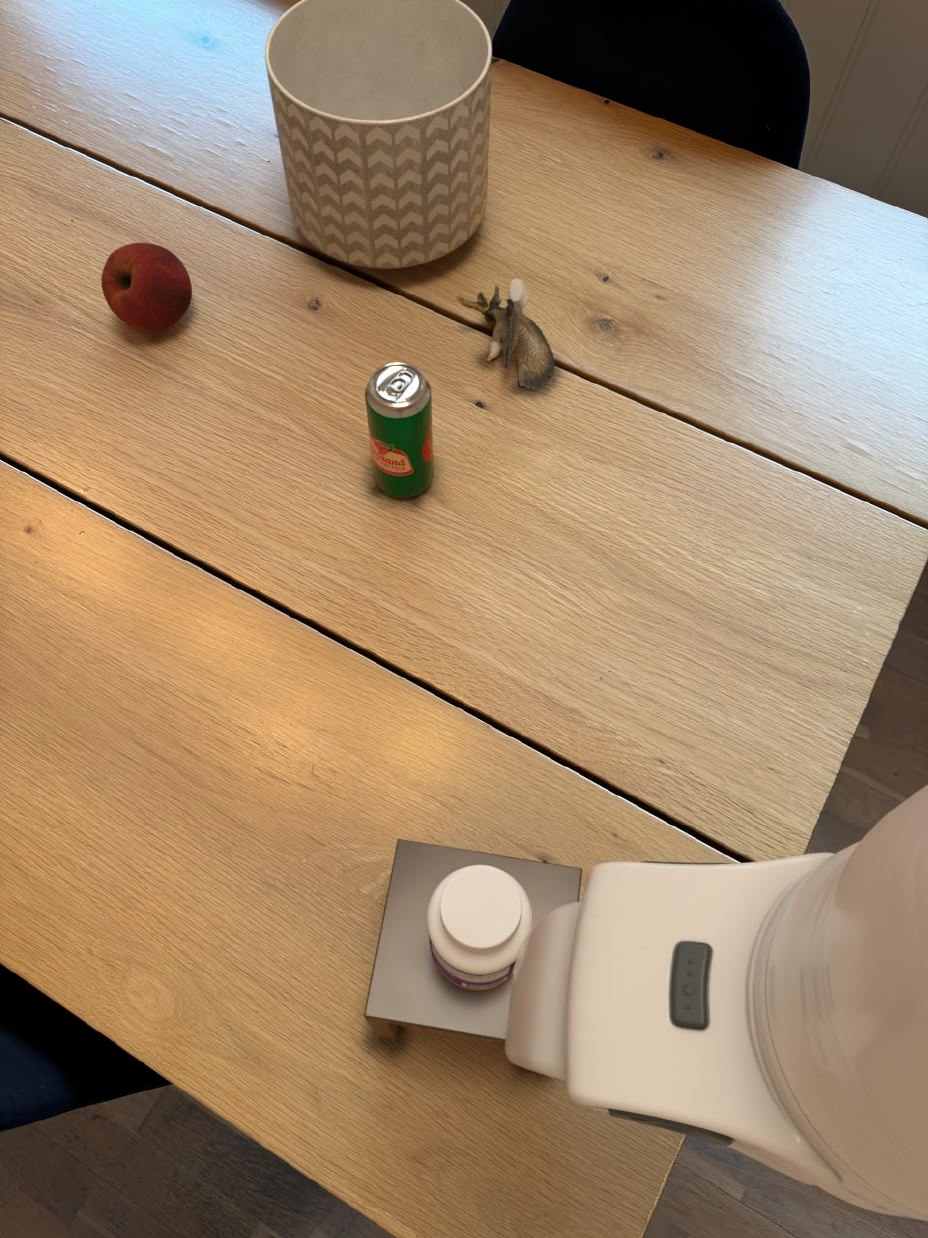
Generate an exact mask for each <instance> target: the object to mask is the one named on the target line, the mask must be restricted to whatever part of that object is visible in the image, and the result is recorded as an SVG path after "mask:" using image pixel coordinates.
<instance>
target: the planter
mask: <svg viewBox="0 0 928 1238" xmlns="http://www.w3.org/2000/svg"><path fill="white" fill-rule="evenodd" d="M264 62H265V69H266V74H267V80H268V84H269V91H270V97H271V103H272V109H273V115H274V120H275V125H276V126H275V127H276V133H277V138H278V145H279V149H280V155H281V160H282V161H281V162H282V166H283V167H282V168H283V172H284V178H285V179H284V180H285V185H286V189H287V195H288V201H289V202H288V203H289V208H290V212H291V215H292V219H293V221H294V223H295V226H296V227H297V229H298V231H299V232H300V233H301V234H302V236H303V237H304V238H305V239H306V240H307V241H308V242H309V243H310V244H311V245H312V246H314V247H315V248H316V249H318V250H319V251H321V252H322V253H324V254H326V255H327V256H329V257H331V258H334V259H336V260H338V261H340V262H344V263H346V264H349V265H353V266H358V267H363V268H370V269H382V270H383V269H384V270H385V269H389V270H390V269H403V268H409V267H414V266H419V265H423V264H427V263H430V262H432V261H435V260H437V259H440V258H443V257H444V256H446V255H448V254H450V253H452V252H454V251H455V250H457V249H458V248H460V247H461V246H462V245H463V244H465V242H467V241H468V240H469V239H470V238H471V237H472V236H473V234H474V233H475V232H476V231H477V229H478V227H479V226H480V224H481V222H482V220H483V219H484V216H485V212H486V208H487V205H488V181H489V180H488V179H489V178H488V177H489V152H490V151H489V149H490V127H491V126H490V125H491V123H490V121H491V95H492V94H491V93H492V70H493V69H492V66H493V45H492V40H491V36H490V32H489V30H488V28H487V27H486V24H484V22H483V20H482V19H481V18H480V16H479V15H478V14H477V13H476V12H475V11H474V10H473V9H472V8H470V7H469V6H468V5H467V4H465V3H464V2H463V1H461V0H300V1H298V2H297V3H295V4H294V5H292V6H291V7H290V8H289V9H287V10H286V11H285V12H284V13H283V14H282V15H281V16H280V17H279V18H278V19H277V20H276V22H275V23H274V25H273V26H272V28H271V29H270V31H269V33H268V35H267V39H266V41H265V47H264Z"/></svg>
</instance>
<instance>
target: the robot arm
mask: <svg viewBox="0 0 928 1238" xmlns="http://www.w3.org/2000/svg"><path fill="white" fill-rule="evenodd" d="M504 1052H505V1056H506V1057H507V1060H509V1061H510V1063H512V1064H514V1065H515V1066H518V1067H520V1068H523V1069H526V1070H528V1071H532V1072H533V1073H534V1072H535V1073H537V1074H540V1075H543V1076H546V1077H549V1078H552V1079H556V1080H559V1081H562V1082H564V1089H565V1090H564V1093H565V1096H566V1097H567V1099H568V1100H569V1101H570V1102H572V1103H573V1104H575V1105H576V1106H578V1107H580V1108H583V1109H588V1110H593V1111H594V1110H595V1111H599V1112H604V1113H608V1114H609V1117H612V1118H617V1119H621V1120H625V1121H631V1122H635V1123H639V1124H643V1125H647V1126H650V1127H651V1126H652V1127H655V1128H659V1129H663V1130H667V1131H671V1132H675V1133H678V1134H680V1135H681V1134H682V1135H685V1136H688V1137H690V1138H694V1139H697V1140H700V1141H702V1142H705V1143H707V1144H708V1143H709V1144H713V1145H718V1146H725V1147H728V1148H730V1149H732V1150H735V1151H736V1152H739V1153H740V1154H743V1155H744V1156H748V1157H749V1158H752V1159H753V1160H755V1161H758V1162H759V1163H761V1164H763V1165H765V1166H766V1167H769V1168H770V1169H773V1170H774V1171H777V1172H779V1173H781V1174H783V1175H785V1176H787V1177H789V1178H791V1179H793V1180H796V1181H797V1182H800V1183H802V1184H805V1185H809V1186H816V1187H818V1188H820V1189H822V1190H823V1191H825V1192H826V1193H828V1194H830V1195H832V1196H833V1197H835V1198H838V1199H840V1201H841V1200H842V1201H843V1202H845V1203H848V1204H851V1205H854V1206H855V1207H858V1208H861V1209H863V1210H866V1211H870V1212H875V1213H879V1214H882V1215H889V1216H895V1217H901V1218H906V1219H907V1218H908V1219H912V1220H919V1221H924V1222H925V1221H926V1222H928V783H927V784H926V785H924V786H923V787H922V788H921V789H919V790H918V791H916V792H915V793H913V794H912V795H910V796H909V797H908V798H907V799H905V800H904V801H902V802H901V803H900V804H898V805H897V806H896V807H894V808H893V809H891V810H890V811H889V812H887V813H886V814H885V815H884V816H883V817H882V818H880V819H879V820H878V821H877V823H876V824H875V825H874V826H873V827H872V828H871V829H870V830H869V831H868V832H867V833H866V834H865V835H864V836H863V838H861V840H859V841H857V842H855V843H853V844H851V845H848V846H847V847H845V848H843V849H841V850H839V851H838V852H836V853H834V852H828V851H827V852H826V851H825V852H814V853H813V852H812V853H805V854H804V853H803V854H797V855H792V856H791V855H790V856H787V857H786V856H785V857H781V858H774V859H766V860H761V861H760V860H759V861H750V862H738V863H736V862H735V863H731V862H730V863H729V862H728V863H727V862H684V861H682V862H681V861H659V860H657V861H655V860H654V861H653V860H645V861H630V860H629V861H628V860H611V861H606V862H605V861H604V862H600V863H598V864H596V865H594V866H592V867H591V868H590V869H589V870H588V872H587V876H586V879H585V883H584V888H583V892H582V897H581V900H579V902H574V903H570V904H566V905H563V906H560V907H558V908H556V909H554V910H552V911H551V912H549V913H548V914H546V915H545V916H544V917H543V918H542V919H541V920H540V921H539V922H538V923H537V924H536V925H535V926H534V927H533V928H532V930H531V931H530V932H529V933H528V935H527V936H526V937H525V939H524V941H523V942H522V944H521V946H520V948H519V951H518V954H517V959H516V964H515V970H514V976H513V983H512V989H511V996H510V1003H509V1012H508V1021H507V1030H506V1040H505V1043H504Z"/></svg>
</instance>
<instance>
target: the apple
mask: <svg viewBox="0 0 928 1238" xmlns="http://www.w3.org/2000/svg"><path fill="white" fill-rule="evenodd" d="M101 289H102V293H103V297H104V298H105V301H106V303H107V305H108V307H109V308H110V310H111V311H112V312H113V314H114V315H115V316H116V318H118V319H119V320H120V321H121V322H123V323H124V324H125V325H127V326H129V328H132V329H134V330H138V331H141V332H144V333H159V332H161V331H164V330H167V329H169V328H171V327H173V326H174V325H176V324H177V323H178V322H180V320H181V319H182V318H183V317H184V316H185V315H186V313H187V311H188V310H189V307H190V305H191V301H192V296H193V286H192V281H191V279H190V275H189V273H188V270H187V268H186V266H185V265H184V264H183V262H182V261H181V260H180V258H178V256H177V255H175V253H173V252H172V251H171V250H169V249H167V248H166V247H164V246H161V245H159V244H155V243H150V242H149V243H148V242H133V243H129V244H125V245H123V246H120V247H118V248H117V249H115V250H114V251H112V253H110V255H109V256H108V258H107V259H106V261H105V264H104V266H103V269H102V273H101Z"/></svg>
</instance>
